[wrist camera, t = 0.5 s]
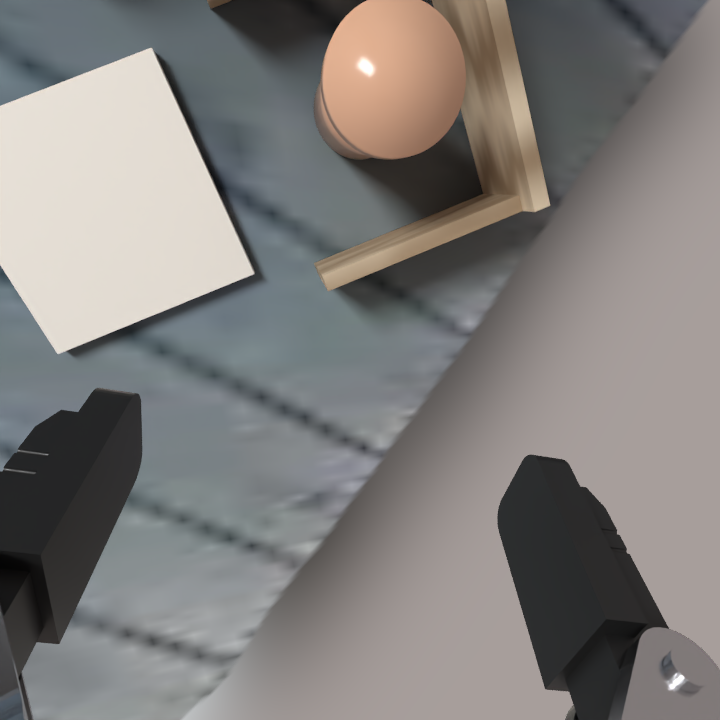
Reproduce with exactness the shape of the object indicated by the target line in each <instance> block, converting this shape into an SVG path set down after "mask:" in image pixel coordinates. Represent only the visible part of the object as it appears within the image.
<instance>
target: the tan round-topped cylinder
mask: <svg viewBox="0 0 720 720" xmlns="http://www.w3.org/2000/svg"><path fill="white" fill-rule="evenodd" d="M465 86H466V68H465V61H464V55H463V51H462V48H461V45H460V42H459V40H458V38H457V36H456V34H455V32H454V30H453V29H452V27H451V25H450V24H449V23H448V21H447V20H446V19H445V18H444V16H442V15H441V14H440V13H439V12H438V11H437V10H436V9H435V8H433V7H432V6H431V5H429V4H428V3H426V2H424V1H422V0H367V1H365V2H363V3H361V4H360V5H358V6H357V7H355V8H354V9H353V10H352V11H351V12H350V13H349V14H347V15H346V17H345V18H344V19H343V20H342V22H341V23H340V24H339V26H338V27H337V29H336V31H335V32H334V34H333V37H332V39H331V41H330V43H329V45H328V48H327V50H326V53H325V56H324V59H323V64H322V69H321V80H320V82H319V85H318V87H317V90H316V93H315V98H314V118H315V122H316V126H317V128H318V131H319V133H320V135H321V136H322V138H323V140H324V141H325V142H326V144H327V145H328V146H329V147H330V148H331V149H333V150H334V151H335V152H337V153H338V154H340V155H342V156H344V157H347V158H350V159H356V160H364V159H370V158H377V159H385V160H392V159H400V158H405V157H410V156H413V155H416V154H419V153H421V152H423V151H425V150H427V149H429V148H430V147H432V146H433V145H435V144H436V143H437V142H438V141H439V140H440V139H441V138H442V137H443V136H444V135H445V134H446V133H447V132H448V130H449V129H450V127H451V126H452V125H453V123H454V121H455V119H456V117H457V115H458V113H459V111H460V108H461V105H462V102H463V98H464V93H465Z"/></svg>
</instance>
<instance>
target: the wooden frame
mask: <svg viewBox="0 0 720 720" xmlns="http://www.w3.org/2000/svg"><path fill="white" fill-rule="evenodd" d="M207 1H208V4H209V6H210V9H211V8H214V7H217V6H219V5H222V4H224V3H227V2H230V1H232V0H207ZM432 3H433V7H434V8H435V9H436V10H437V11H438V12H439V13H440V14H441V15H442V16H444V18H445V19H446V20H447V21H448V23H449V24H450V25H451V27H452V29H453V30H454V32H455V34H456V36H457V38H458V40H459V42H460V45H461V48H462V51H463V55H464V61H465V68H466V86H465V93H464V98H463V102H462V105H461V112H462V116H463V120H464V124H465V127H466V131H467V135H468V139H469V142H470V146H471V150H472V154H473V157H474V161H475V165H476V169H477V172H478V176H479V180H480V184H481V188H482V191H483V194H482V195H479V196H477V197H474V198H472V199H470V200H467V201H465V202H462V203H460V204H457V205H455V206H452V207H450V208H448V209H445V210H443V211H440V212H438V213H435V214H433V215H430V216H428V217H426V218H423V219H421V220H418V221H416V222H413V223H411V224H408V225H406V226H404V227H401V228H399V229H396V230H394V231H391V232H389V233H387V234H384V235H382V236H379V237H377V238H374V239H372V240H369V241H367V242H365V243H362V244H360V245H357V246H355V247H352V248H350V249H347V250H345V251H343V252H340V253H338V254H335V255H333V256H330V257H328V258H325V259H323V260H321V261H318V262H316V263H314V264H315V267H316V269H317V272H318V274H319V277H320V278H321V280H322V282H323V283H324V285H325V287H326V288H327V290H328V291H330V290H332V289H335V288H337V287H340V286H342V285H344V284H347V283H349V282H352V281H354V280H357V279H359V278H361V277H364V276H366V275H369V274H371V273H374V272H376V271H378V270H381V269H383V268H386V267H388V266H391V265H393V264H395V263H398V262H400V261H403V260H405V259H408V258H410V257H412V256H415V255H417V254H420V253H422V252H425V251H427V250H429V249H432V248H434V247H437V246H439V245H441V244H444V243H446V242H449V241H451V240H454V239H456V238H458V237H461V236H463V235H466V234H468V233H471V232H473V231H475V230H478V229H480V228H483V227H485V226H488V225H490V224H492V223H495V222H497V221H500V220H502V219H505V218H507V217H509V216H512V215H514V214H517V213H519V212H522V211H529V212H536V211H539V210H541V209H543V208H546V207H548V206H550V202H549V197H548V193H547V188H546V184H545V179H544V174H543V170H542V165H541V161H540V156H539V152H538V147H537V142H536V138H535V133H534V129H533V124H532V120H531V115H530V110H529V106H528V101H527V97H526V92H525V88H524V83H523V79H522V74H521V69H520V65H519V60H518V56H517V51H516V47H515V42H514V37H513V33H512V28H511V24H510V19H509V15H508V10H507V5H506V1H505V0H432Z"/></svg>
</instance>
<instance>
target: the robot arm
mask: <svg viewBox="0 0 720 720" xmlns="http://www.w3.org/2000/svg"><path fill="white" fill-rule="evenodd" d="M141 458H142V422H141V399H140V396H139V394H136V393H130V392H123V391H117V390H110V389H104V388H96V389H95V390H94V391H93V392H92V393H91V395H90V396H89V397H88V399H87V400H86V402H85V403H84V405H83V406H82V407H81V409H80V410H79V412H72V411H65V410H60V411H59V412H57V413H56V414H54V415H53V416H51V417H49V418H48V419H46V420H45V421H43V422H42V423H40V424H39V425H37V426H35V427H34V429H33V430H32V431H31V433H30V434H29V435H28V436H27V438H26V439H25V440H24V442H23V443H22V444H21V445H20V447H19V448H18V452H17V453H14V454H13V456H12V457H11V458H10V460H9V461H8V462H7V463H6V465H5V466H4V470H3V472H0V720H34V719H33V715H32V711H31V706H30V702H29V698H28V694H27V690H26V686H25V681H24V677H23V673H22V670H23V668H24V666H25V664H26V662H27V660H28V658H29V656H30V654H31V652H32V650H33V648H34V646H35V644H36V642H41V643H53V644H60V641H61V639H62V637H63V635H64V633H65V631H66V629H67V626H68V624H69V622H70V620H71V618H72V616H73V614H74V611H75V609H76V607H77V605H78V603H79V601H80V599H81V596H82V594H83V592H84V590H85V588H86V586H87V584H88V582H89V579H90V577H91V575H92V573H93V571H94V569H95V567H96V564H97V562H98V560H99V558H100V556H101V554H102V552H103V549H104V547H105V545H106V543H107V541H108V539H109V537H110V534H111V532H112V530H113V528H114V526H115V524H116V522H117V519H118V517H119V515H120V513H121V511H122V509H123V507H124V505H125V502H126V500H127V498H128V496H129V494H130V492H131V490H132V487H133V485H134V483H135V481H136V478H137V475H138V472H139V468H140V464H141ZM498 529H499V533H500V536H501V540H502V543H503V547H504V550H505V553H506V557H507V560H508V563H509V567H510V571H511V574H512V577H513V581H514V584H515V587H516V591H517V594H518V598H519V601H520V605H521V608H522V611H523V615H524V618H525V621H526V625H527V628H528V632H529V635H530V639H531V642H532V645H533V649H534V652H535V655H536V659H537V662H538V666H539V669H540V673H541V676H542V679H543V683H544V686H545V689H547V690H558V691H569V692H570V695H571V698H572V701H573V704H574V705H573V706H572V708H571V709H570V710H569V711H568V713H567V716H566V719H565V720H720V670H719V668H718V667H717V665H716V664H715V663H714V661H713V660H712V659H711V658H710V657H709V656H708V655H707V654H706V653H705V652H704V650H702V649H701V648H700V647H699V646H698V645H696V643H694V642H693V641H691V640H690V639H689V638H687V637H685V636H684V635H682V634H680V633H678V632H676V631H673V630H670V629H669V628H668V626H667V624H666V622H665V621H664V619H663V617H662V615H661V613H660V611H659V609H658V607H657V605H656V603H655V602H654V600H653V598H652V596H651V594H650V592H649V590H648V588H647V586H646V584H645V582H644V581H643V579H642V577H641V575H640V573H639V571H638V570H637V567H636V565H635V564H634V562H633V560H632V558H631V556H630V554H627V552H626V550H627V549H626V546H625V545H624V543H623V541H622V539H621V537H620V535H617V529H616V527H615V526H614V524H613V522H612V520H611V518H610V516H609V514H608V512H607V510H606V509H605V507H604V506H603V505H602V504H601V503H600V502H599V501H598V500H597V499H596V498H595V496H594V495H592V493H591V492H590V491H589V490H588V489H587V488H586V487H580V485H579V484H578V482H577V479H576V477H575V475H574V473H573V471H572V469H571V467H570V465H569V464H568V463H567V462H566V461H565V460H562V459H556V458H549V457H542V456H536V455H528V456H526V457H525V458H524V459H523V461H522V463H521V465H520V466H519V468H518V470H517V472H516V474H515V476H514V478H513V479H512V481H511V483H510V485H509V487H508V489H507V491H506V492H505V494H504V496H503V498H502V500H501V503H500V505H499V509H498Z"/></svg>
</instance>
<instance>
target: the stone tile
mask: <svg viewBox="0 0 720 720" xmlns="http://www.w3.org/2000/svg"><path fill="white" fill-rule="evenodd" d="M0 265H1V267H2V268H3V270H4V272H5V273H6V275H7V276H8V278H9V279H10V281H11V282H12V284H13V285H14V287H15V289H16V290H17V292H18V293H19V295H20V296H21V298H22V299H23V301H24V303H25V304H26V306H27V307H28V309H29V310H30V312H31V313H32V315H33V317H34V318H35V320H36V321H37V323H38V324H39V326H40V327H41V329H42V330H43V332H44V334H45V335H46V337H47V338H48V340H49V341H50V343H51V344H52V346H53V348H54V349H55V351H56V352H57V354H60V353H62V352H65V351H67V350H69V349H72V348H74V347H77V346H79V345H82V344H84V343H87V342H89V341H91V340H94V339H96V338H99V337H101V336H104V335H106V334H109V333H111V332H114V331H116V330H118V329H121V328H123V327H126V326H128V325H131V324H133V323H136V322H138V321H140V320H143V319H145V318H148V317H150V316H153V315H155V314H158V313H160V312H163V311H165V310H167V309H170V308H172V307H175V306H177V305H180V304H182V303H185V302H187V301H189V300H192V299H194V298H197V297H199V296H202V295H204V294H207V293H209V292H211V291H214V290H216V289H219V288H221V287H224V286H226V285H229V284H231V283H234V282H236V281H238V280H241V279H243V278H246V277H248V276H251V275H253V274H255V271H254V268H253V266H252V264H251V262H250V260H249V257H248V255H247V253H246V251H245V249H244V246H243V244H242V242H241V240H240V238H239V235H238V233H237V231H236V229H235V227H234V224H233V222H232V220H231V218H230V216H229V213H228V211H227V209H226V207H225V205H224V202H223V200H222V198H221V196H220V194H219V191H218V189H217V187H216V185H215V183H214V180H213V178H212V176H211V174H210V172H209V169H208V167H207V165H206V163H205V161H204V158H203V156H202V154H201V152H200V150H199V147H198V145H197V143H196V141H195V139H194V136H193V134H192V132H191V130H190V128H189V125H188V123H187V121H186V119H185V117H184V114H183V112H182V110H181V108H180V106H179V103H178V101H177V99H176V97H175V95H174V92H173V90H172V88H171V86H170V84H169V81H168V79H167V77H166V75H165V73H164V70H163V68H162V66H161V64H160V62H159V59H158V57H157V55H156V53H155V51H154V50H153V49H152V48H149V49H147V50H144V51H141V52H139V53H136V54H134V55H131V56H129V57H126V58H123V59H121V60H118V61H116V62H113V63H110V64H108V65H105V66H103V67H100V68H97V69H95V70H92V71H90V72H87V73H84V74H82V75H79V76H77V77H74V78H72V79H69V80H66V81H64V82H61V83H59V84H56V85H53V86H51V87H48V88H46V89H43V90H40V91H38V92H35V93H33V94H30V95H27V96H25V97H22V98H20V99H17V100H15V101H12V102H9V103H7V104H4V105H2V106H0Z"/></svg>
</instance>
